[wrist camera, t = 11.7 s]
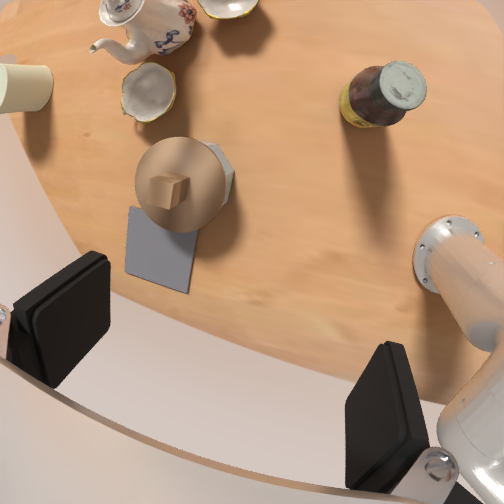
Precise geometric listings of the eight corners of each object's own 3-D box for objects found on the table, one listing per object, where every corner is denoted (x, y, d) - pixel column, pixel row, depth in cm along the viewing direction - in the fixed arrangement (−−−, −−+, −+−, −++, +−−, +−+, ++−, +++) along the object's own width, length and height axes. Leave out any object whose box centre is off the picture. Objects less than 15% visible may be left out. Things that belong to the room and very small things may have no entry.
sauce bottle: (346, 133, 40) (373, 136, 22) (330, 90, 38) (344, 59, 20) (391, 120, 38) (447, 117, 20) (375, 77, 36) (420, 42, 18)
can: (42, 56, 42) (-5, 52, 31) (60, 85, 44) (11, 84, 33) (18, 91, 45) (-27, 94, 34) (35, 121, 47) (-12, 127, 36)
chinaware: (176, 138, 46) (127, 156, 31) (97, 90, 43) (30, 93, 28) (282, -8, 35) (279, -58, 20) (191, -49, 32) (154, -98, 17)
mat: (199, 225, 49) (197, 226, 48) (188, 291, 53) (186, 293, 53) (131, 206, 50) (129, 206, 49) (126, 270, 54) (124, 271, 54)
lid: (235, 147, 38) (222, 150, 32) (216, 241, 42) (201, 258, 37) (145, 129, 39) (121, 131, 33) (134, 217, 44) (110, 230, 38)
